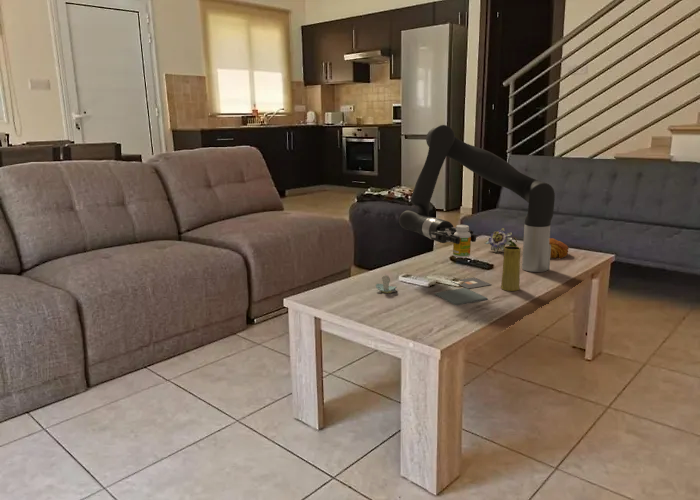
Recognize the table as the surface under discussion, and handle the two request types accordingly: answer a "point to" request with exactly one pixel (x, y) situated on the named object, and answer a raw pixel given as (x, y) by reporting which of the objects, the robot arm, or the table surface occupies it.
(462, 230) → the supplement bottle
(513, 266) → the vase
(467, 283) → the dark gray tile
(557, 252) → the croissant
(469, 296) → the slate pad
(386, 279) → the pacifier
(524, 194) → the robot arm
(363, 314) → the table surface
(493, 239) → the passion flower
